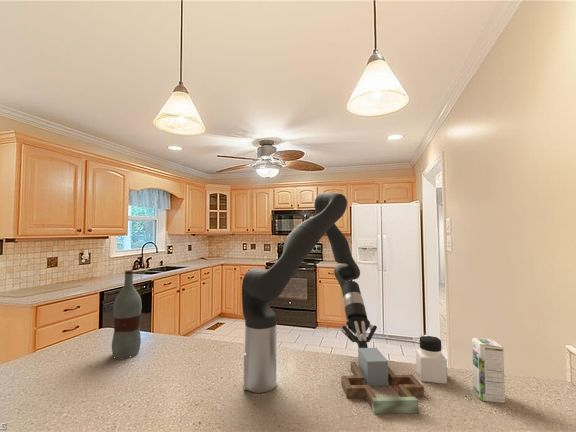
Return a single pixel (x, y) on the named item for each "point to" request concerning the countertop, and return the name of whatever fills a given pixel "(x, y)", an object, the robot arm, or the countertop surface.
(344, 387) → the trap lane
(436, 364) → the medicine bottle
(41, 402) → the countertop surface
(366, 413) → the countertop surface
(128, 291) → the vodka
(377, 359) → the slate block
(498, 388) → the syrup box
